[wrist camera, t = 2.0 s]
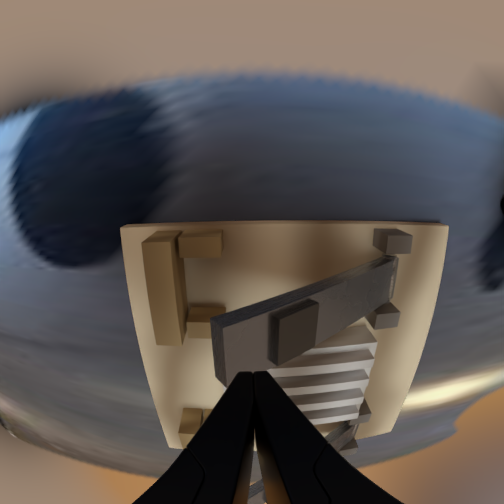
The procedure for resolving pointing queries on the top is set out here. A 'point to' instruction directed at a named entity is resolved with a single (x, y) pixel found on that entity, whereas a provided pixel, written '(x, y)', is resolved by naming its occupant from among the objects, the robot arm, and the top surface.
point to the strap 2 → (335, 438)
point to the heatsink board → (270, 285)
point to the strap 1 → (298, 318)
